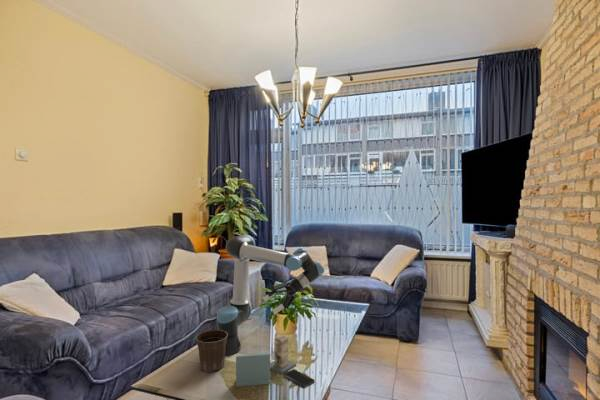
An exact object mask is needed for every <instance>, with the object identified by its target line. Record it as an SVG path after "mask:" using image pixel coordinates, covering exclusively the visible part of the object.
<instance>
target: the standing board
mask: <svg viewBox="0 0 600 400" xmlns="http://www.w3.org/2000/svg"><path fill="white" fill-rule="evenodd" d="M270 363H271V354H270V353H256V354H255V353H254V354H238V355H235V387H245V386H247V387H248V386H260V385H262V386H263V385H270V384H271V369H270Z"/></svg>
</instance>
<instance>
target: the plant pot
mask: <svg viewBox="0 0 600 400" xmlns="http://www.w3.org/2000/svg"><path fill="white" fill-rule="evenodd" d="M227 337H228V333H227V332H226V331H223V330H217V329H209V330H206V331H203V332H199V333H198V334H197V335H196V336H195V341H196V346H197V349H198V358H199V364H200V365H199V367H200V370H201V371H203V372H205V373H212V372H215V371H219V370H222V369H223V368H224V366H225V363H226V355H225V349H226V343H227Z"/></svg>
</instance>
